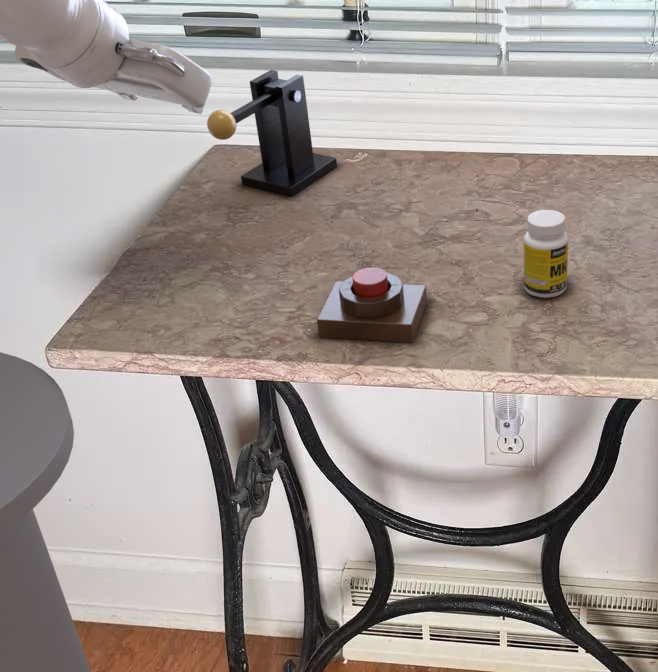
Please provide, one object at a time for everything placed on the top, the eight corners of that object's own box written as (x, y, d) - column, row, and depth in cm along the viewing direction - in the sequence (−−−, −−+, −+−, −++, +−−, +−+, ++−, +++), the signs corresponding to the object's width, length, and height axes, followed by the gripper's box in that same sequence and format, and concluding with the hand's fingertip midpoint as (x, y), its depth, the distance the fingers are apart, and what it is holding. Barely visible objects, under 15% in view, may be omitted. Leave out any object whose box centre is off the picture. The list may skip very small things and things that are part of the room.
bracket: (291, 196, 150) (277, 97, 141) (242, 184, 153) (225, 87, 145) (337, 166, 156) (326, 69, 148) (288, 155, 159) (275, 60, 151)
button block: (319, 337, 124) (314, 304, 121) (337, 298, 130) (333, 266, 127) (412, 342, 122) (410, 309, 120) (427, 303, 128) (425, 270, 126)
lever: (226, 146, 140) (221, 118, 137) (203, 141, 141) (198, 113, 139) (297, 104, 149) (294, 77, 147) (276, 100, 150) (272, 73, 148)
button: (350, 298, 123) (348, 283, 121) (358, 281, 125) (356, 266, 124) (384, 300, 122) (383, 285, 121) (391, 282, 125) (390, 268, 124)
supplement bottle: (554, 303, 127) (554, 232, 122) (516, 292, 129) (515, 222, 124) (575, 283, 130) (576, 213, 125) (537, 273, 132) (537, 203, 127)
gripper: (173, 23, 116) (249, 87, 129) (21, -1, 124) (107, 61, 137) (152, 84, 116) (230, 142, 129) (1, 55, 124) (89, 112, 137)
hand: (165, 100), depth 133 cm, fingers open, 8 cm apart
